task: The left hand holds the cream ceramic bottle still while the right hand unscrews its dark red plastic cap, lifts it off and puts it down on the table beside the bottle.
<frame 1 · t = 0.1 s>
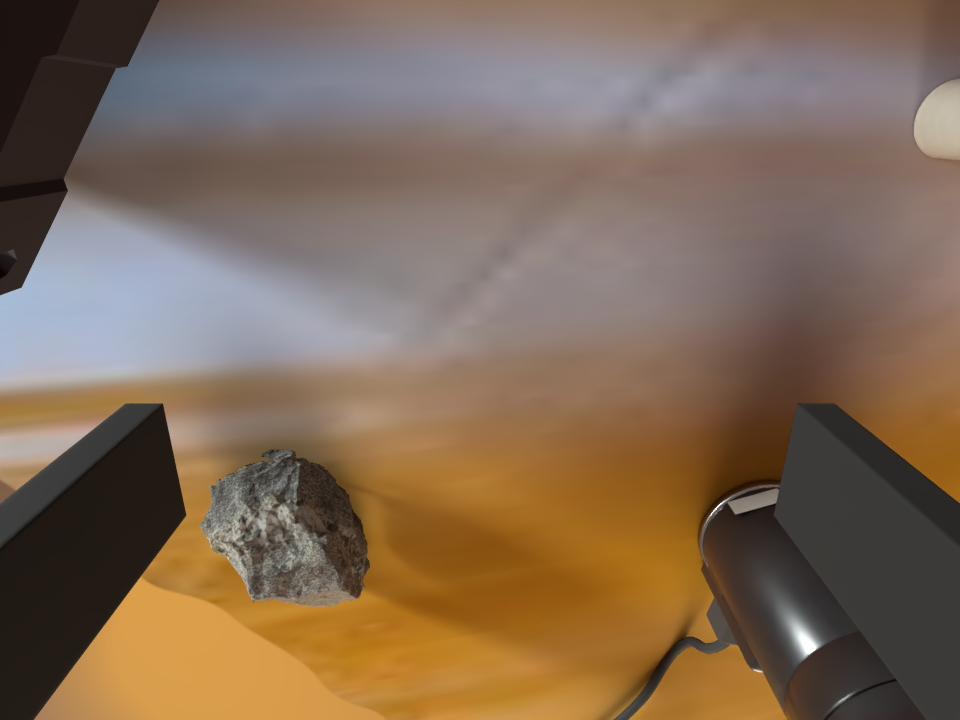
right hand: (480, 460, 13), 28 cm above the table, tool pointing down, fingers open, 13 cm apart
rock: (305, 507, 47), on the table
bottle: (951, 119, 36), on the table
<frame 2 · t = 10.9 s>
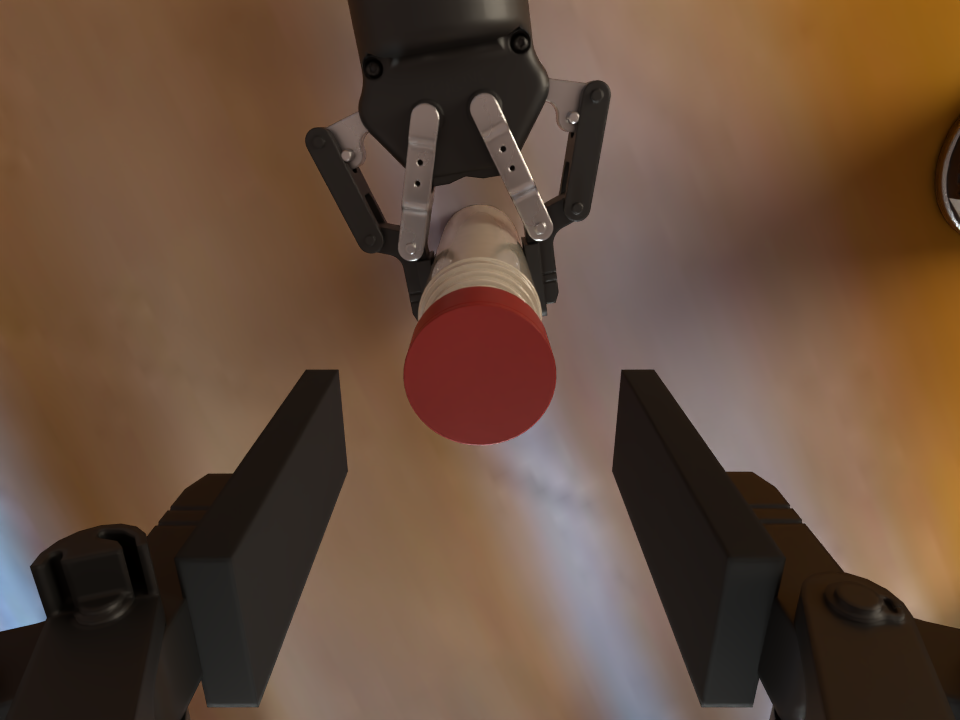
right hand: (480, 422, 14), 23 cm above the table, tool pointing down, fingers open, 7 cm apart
left hand: (488, 318, 31), fingers closed on bottle, 4 cm apart
cap: (479, 374, 17), point 20 cm above the table, screwed on, not yet turned
bottle: (480, 243, 36), on the table, touching left hand
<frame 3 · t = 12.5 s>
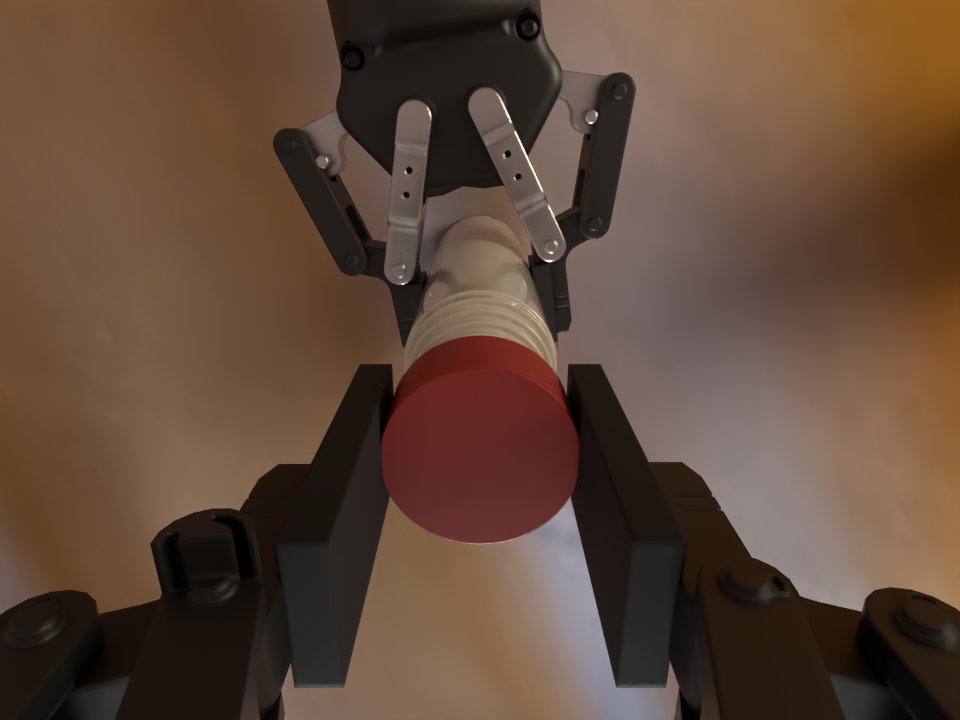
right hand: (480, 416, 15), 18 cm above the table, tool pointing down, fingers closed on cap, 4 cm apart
left hand: (490, 348, 27), fingers closed on bottle, 4 cm apart
cap: (480, 454, 13), point 20 cm above the table, screwed on, not yet turned, touching right hand
bottle: (480, 260, 32), on the table, touching left hand
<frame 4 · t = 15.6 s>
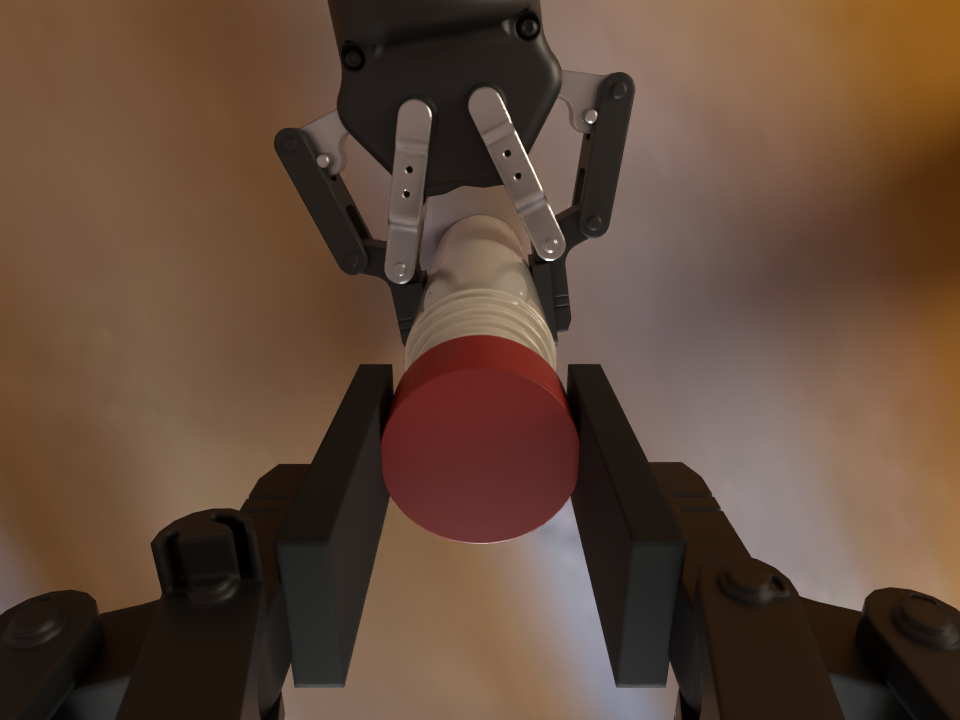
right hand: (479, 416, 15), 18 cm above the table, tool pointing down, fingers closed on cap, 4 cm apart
left hand: (490, 347, 27), fingers closed on bottle, 4 cm apart
cap: (480, 454, 13), point 20 cm above the table, turned 101° so far, risen 0.1 cm, still on its thread, touching right hand
bottle: (480, 259, 32), on the table, touching left hand
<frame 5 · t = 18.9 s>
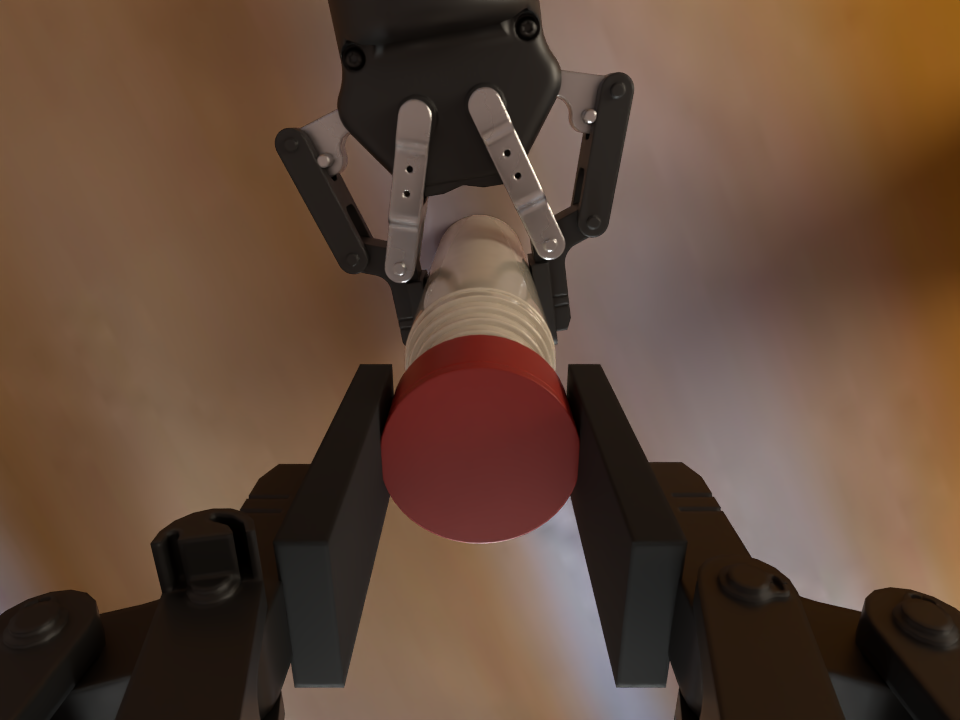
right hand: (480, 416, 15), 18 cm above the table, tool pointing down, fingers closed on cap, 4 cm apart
left hand: (490, 346, 27), fingers closed on bottle, 4 cm apart
cap: (480, 453, 13), point 20 cm above the table, turned 202° so far, risen 0.2 cm, still on its thread, touching right hand
bottle: (480, 258, 32), on the table, touching left hand
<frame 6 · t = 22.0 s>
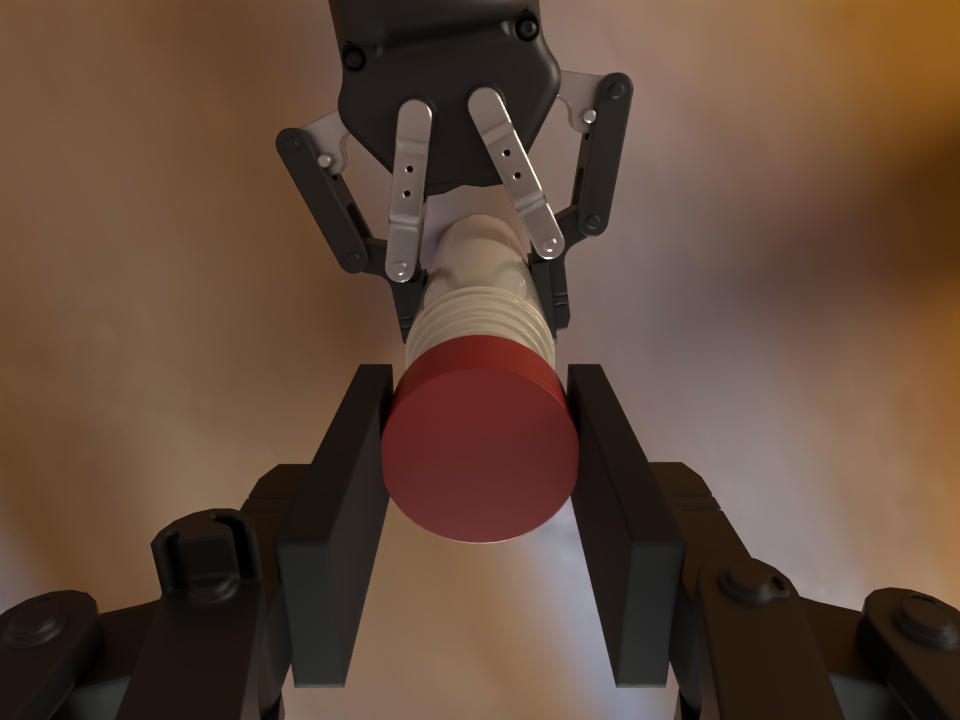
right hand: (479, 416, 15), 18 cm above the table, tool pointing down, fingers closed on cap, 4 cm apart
left hand: (489, 345, 27), fingers closed on bottle, 4 cm apart
cap: (479, 453, 13), point 20 cm above the table, turned 303° so far, risen 0.3 cm, still on its thread, touching right hand
bottle: (479, 258, 32), on the table, touching left hand
when the right hand's fingers open (1 cm above the table, at t = 28.2 s): cap drops 1 cm, point 2 cm above the table.
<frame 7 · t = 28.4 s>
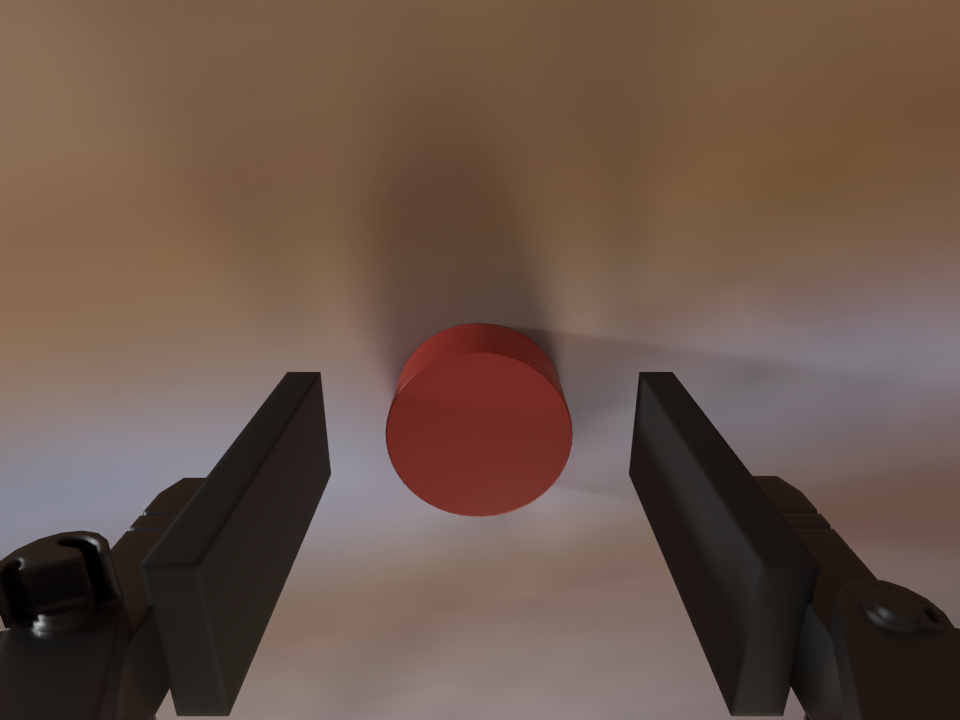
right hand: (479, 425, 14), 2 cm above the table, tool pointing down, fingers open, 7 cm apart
cap: (479, 432, 14), point 2 cm above the table, off its thread
when the left hand's fingers open (6 cm above the table, at t = 29.4 s): bottle stays where it is, on the table.
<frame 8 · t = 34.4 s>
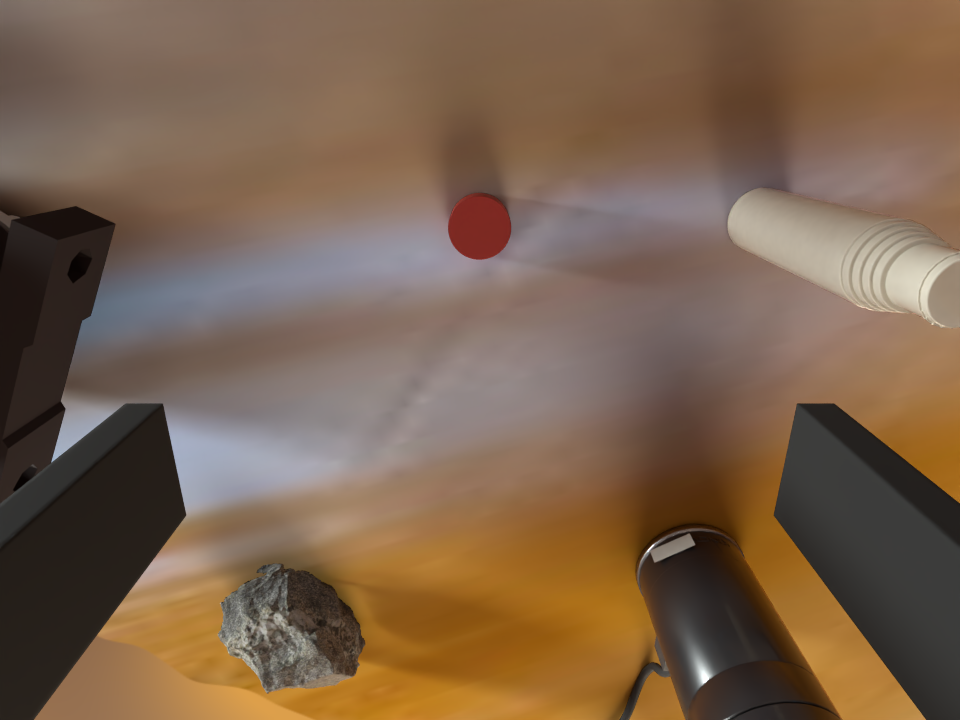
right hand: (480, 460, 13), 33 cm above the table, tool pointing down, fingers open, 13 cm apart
cap: (479, 227, 42), point 2 cm above the table, off its thread
rock: (303, 603, 56), on the table
bottle: (759, 220, 43), on the table
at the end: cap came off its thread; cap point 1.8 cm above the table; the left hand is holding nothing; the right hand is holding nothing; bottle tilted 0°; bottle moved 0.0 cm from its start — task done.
